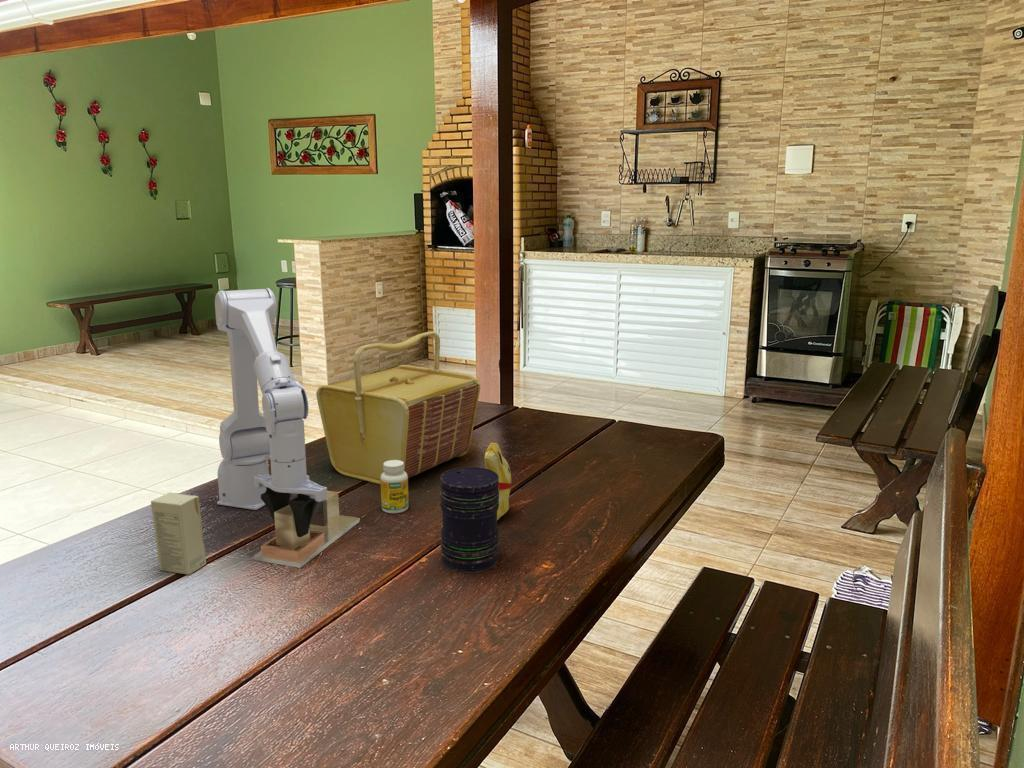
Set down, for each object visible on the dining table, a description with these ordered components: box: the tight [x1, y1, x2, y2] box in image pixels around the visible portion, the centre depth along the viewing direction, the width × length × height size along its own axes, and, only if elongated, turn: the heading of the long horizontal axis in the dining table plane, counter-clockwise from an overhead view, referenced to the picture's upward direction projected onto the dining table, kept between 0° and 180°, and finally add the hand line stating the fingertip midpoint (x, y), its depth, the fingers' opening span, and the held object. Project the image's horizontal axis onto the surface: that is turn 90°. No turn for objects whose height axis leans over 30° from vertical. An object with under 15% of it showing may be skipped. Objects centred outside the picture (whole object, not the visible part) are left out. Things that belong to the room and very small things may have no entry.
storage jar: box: [439, 466, 500, 574], centre depth 127 cm, size 10×10×15 cm
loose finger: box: [274, 505, 310, 549], centre depth 131 cm, size 4×5×6 cm
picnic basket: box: [315, 331, 481, 486], centre depth 172 cm, size 29×26×30 cm
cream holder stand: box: [253, 490, 360, 569], centre depth 135 cm, size 9×20×7 cm, turn 162°
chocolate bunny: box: [483, 442, 513, 521], centre depth 146 cm, size 7×11×15 cm, turn 155°
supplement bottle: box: [380, 460, 410, 514], centre depth 149 cm, size 5×5×10 cm
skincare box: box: [150, 492, 207, 575], centre depth 124 cm, size 6×4×12 cm
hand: (292, 532), depth 131 cm, fingers closed on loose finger, 4 cm apart
